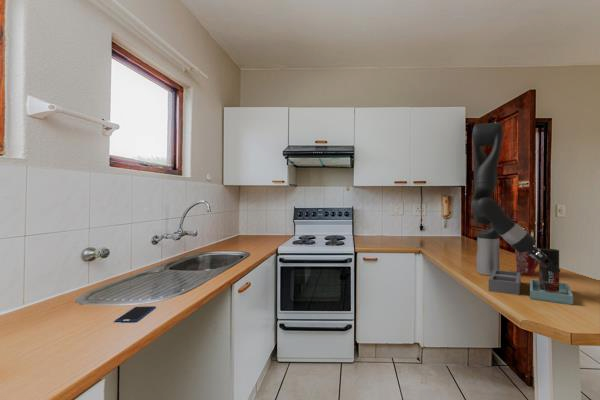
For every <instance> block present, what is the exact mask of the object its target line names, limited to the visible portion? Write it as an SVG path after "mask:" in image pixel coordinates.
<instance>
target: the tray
mask: <svg viewBox="0 0 600 400" xmlns="http://www.w3.org/2000/svg"><path fill="white" fill-rule="evenodd" d="M529 300H533V301H534V300H535V301H542V302H547V303H548V302H549V303H557V304H562V305H563V304H564V305H571V306H574V295H573V292H572V290H571V287H570V285H569V283H566V282H559V291H558V292H550V291H544V290H541V289H539V279H531V278H530V279H529Z"/></svg>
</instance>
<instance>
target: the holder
mask: <svg viewBox="0 0 600 400" xmlns="http://www.w3.org/2000/svg"><path fill="white" fill-rule="evenodd" d="M521 281H522V274H521V272H517V271H509V270H501V269H500V270H493V272H492V274H491V275H489V277H488V292H494V293H495V292H496V293H502V294H509V295H516V296H519V295H520V291H521V284H522V282H521Z"/></svg>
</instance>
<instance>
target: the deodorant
mask: <svg viewBox="0 0 600 400" xmlns="http://www.w3.org/2000/svg"><path fill="white" fill-rule="evenodd" d="M539 249H540V250H541V251H542V252H543V253H544V254H545V255H546V256H547V257H548V258H549V259H550V260H552V262H553V264H554V265H555V266H556V267H557V268H559V269H560V250H559V249H554V248H539ZM544 262H545V263H546V262H548V260H545V261H544ZM538 265H539V266H538V267H539V268H538V269H539V271H538V272H539V274H538V275H539V276H538V277H539V278H538V280H539V289H541V290H544V291H550V292H558V291H559V283H560V272H559V273H558V274H554V273H553V272H552V271H551V270H550V269H549V268H548V267H546V266H545V265H544V264H543V263H539V264H538Z"/></svg>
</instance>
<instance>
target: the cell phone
mask: <svg viewBox="0 0 600 400" xmlns="http://www.w3.org/2000/svg"><path fill="white" fill-rule="evenodd" d="M155 309H157V306H153V305H152V306H149V305H147V306H146V305H145V306H134V307H133V308H131V309H130V310H128V311H127V312H125V313H123V314H122V315H120V317H118V318H117V319H115V320H114V321H113V322H121V324H123V323H125V324H126V323H134V324H135V323H138V322H140V321H141V320H142V319H144V318H145V317H146V316H148V315H149V314H150V313H151V312H153V311H154V310H155Z"/></svg>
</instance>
